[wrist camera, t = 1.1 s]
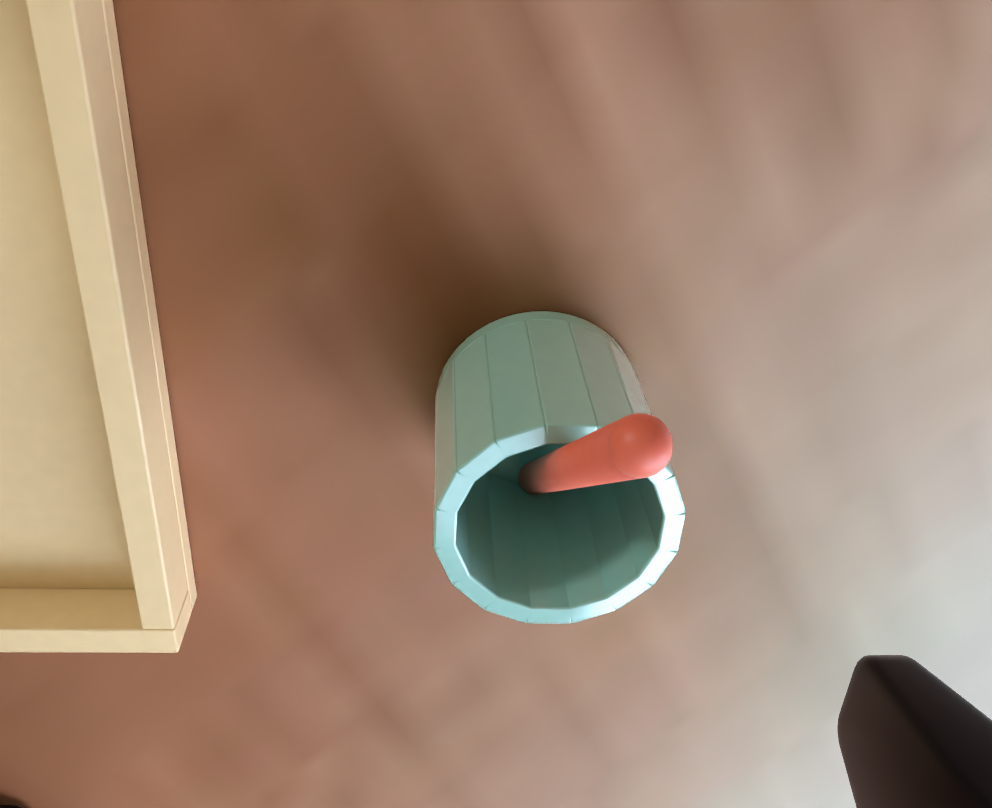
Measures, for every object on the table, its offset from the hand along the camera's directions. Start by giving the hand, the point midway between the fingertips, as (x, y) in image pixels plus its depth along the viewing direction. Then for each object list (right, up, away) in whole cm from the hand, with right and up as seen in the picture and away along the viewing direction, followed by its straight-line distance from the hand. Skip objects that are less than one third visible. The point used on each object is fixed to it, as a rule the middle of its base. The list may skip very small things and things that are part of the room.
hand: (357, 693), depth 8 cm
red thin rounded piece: (+3, +1, +9) cm, 9 cm away
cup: (+2, +3, +14) cm, 14 cm away
